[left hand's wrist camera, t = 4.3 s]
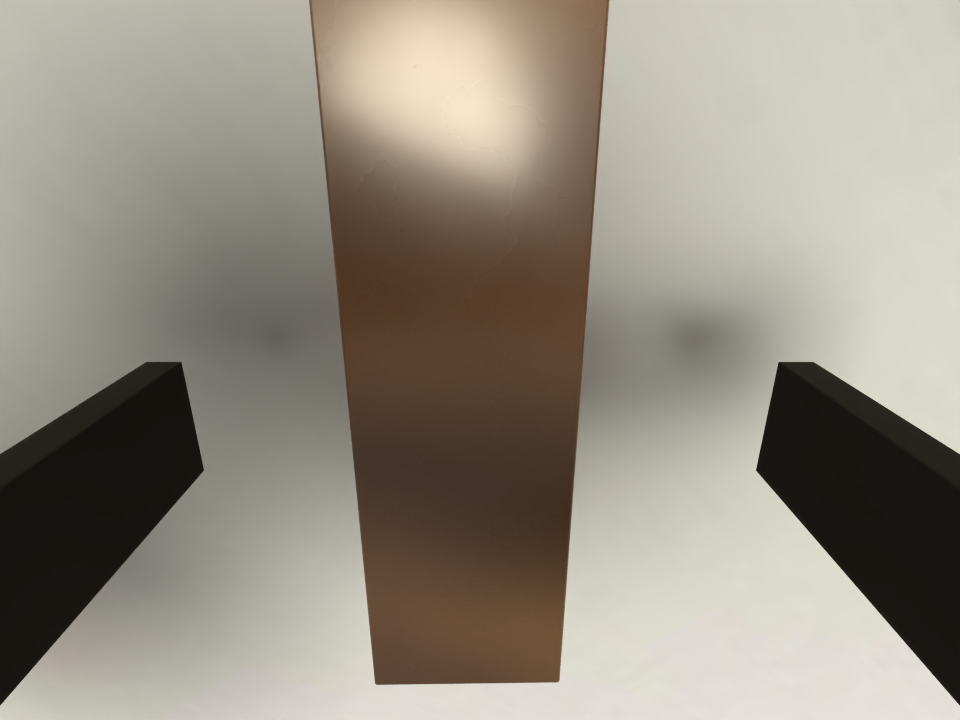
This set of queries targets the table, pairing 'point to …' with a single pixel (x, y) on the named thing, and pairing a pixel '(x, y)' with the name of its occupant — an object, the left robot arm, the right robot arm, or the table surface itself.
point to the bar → (462, 314)
